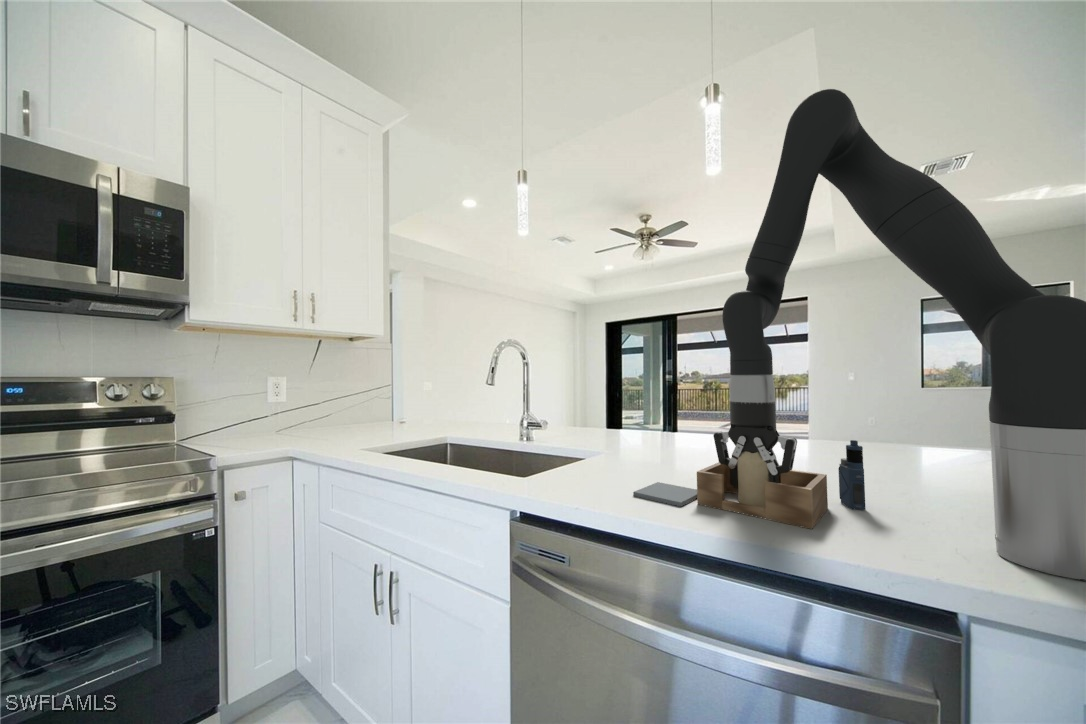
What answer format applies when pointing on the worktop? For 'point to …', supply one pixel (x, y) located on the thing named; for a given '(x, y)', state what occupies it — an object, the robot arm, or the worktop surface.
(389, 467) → the worktop surface
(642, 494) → the mat
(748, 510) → the box
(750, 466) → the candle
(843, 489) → the vaping device
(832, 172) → the robot arm
